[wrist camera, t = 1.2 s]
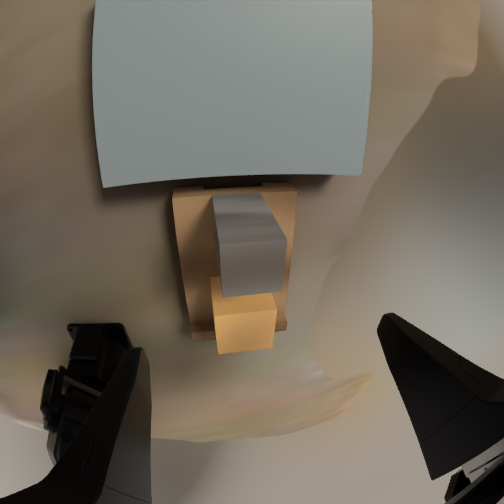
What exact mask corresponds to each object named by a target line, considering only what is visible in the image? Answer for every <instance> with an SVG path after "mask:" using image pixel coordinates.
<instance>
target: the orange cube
mask: <svg viewBox="0 0 504 504" xmlns="http://www.w3.org/2000/svg"><path fill="white" fill-rule="evenodd" d="M210 283H211V294H212V304H213V314H214V323H215V332H216V341H217V349H218V354H227V353H237V352H245V351H253V350H261V349H268V348H273V341H274V333H275V324H276V315H277V308H276V305H275V302H274V299H273V296H272V293H264V294H255V295H245V296H235V297H224V298H222V291H221V284H220V277H219V276H218V277H210Z"/></svg>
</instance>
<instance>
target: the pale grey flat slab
mask: <svg viewBox="0 0 504 504" xmlns="http://www.w3.org/2000/svg"><path fill="white" fill-rule="evenodd" d="M371 75H372V0H96V4H95V14H94V26H93V45H92V88H93V108H94V122H95V133H96V142H97V150H98V158H99V165H100V172H101V178H102V184H103V188H107V187H114V186H121V185H129V184H137V183H146V182H155V181H165V180H176V179H187V178H201V177H216V176H235V175H264V174H330V175H358V176H361V173H362V167H363V159H364V152H365V144H366V136H367V126H368V116H369V105H370V92H371Z"/></svg>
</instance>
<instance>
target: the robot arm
mask: <svg viewBox="0 0 504 504" xmlns="http://www.w3.org/2000/svg"><path fill="white" fill-rule="evenodd" d="M67 330H68V332H69V334H70V336H71V337H72V339H73V341H74V342H73V345H72V349H71V352H70V355H69V358H70V360H69V364H68V367H67V370H66V369H65V367H63V366H61V365H60V366H59V368H58V369H57V370H51V369H49V370H48V372H47V375H46V379H45V382H44V386H43V391H42V397H41V404H40V410H41V412H42V414H43V420H44V429H45V430H47V431H49V434H48V440H47V450H48V453H49V455H50V458H51V460H52V463H53V465H54V467H53V468H52V470H51V471H50V473H49V474H48V475H47V476H46V477H45V478H44V479H43V480H42V481H40V482H39V483H37V484H35V485H32V486H30V487H28V488H26V489H23V490H21V491H19V492H16V493H14V494H11V495H9V496H6V497H3V498H0V504H151V503H152V498H151V466H150V442H151V407H152V404H151V388H150V367H149V362H148V359H147V357H146V354H145V352H144V350H143V348H141V347H135V348H133V346H132V344H131V342H130V339H129V337H128V335H127V332H126V330H125V328H124V326H123V325H122V324H120V323H103V324H68V326H67ZM377 334H378V337H379V340H380V343H381V346H382V349H383V352H384V355H385V358H386V361H387V364H388V366H389V369H390V371H391V373H392V375H393V378H394V380H395V382H396V385H397V387H398V390H399V392H400V394H401V397H402V399H403V401H404V404H405V407H406V409H407V412H408V414H409V417H410V420H411V422H412V425H413V428H414V430H415V433H416V436H417V438H418V441H419V443H420V447H421V450H422V453H423V456H424V459H425V462H426V465H427V468H428V471H429V474H430V477H431V480H435V479H437V478H439V477H441V476H443V475H445V474H447V473H449V472H450V471H452V470H454V469H456V468H458V467H460V466H461V467H462V469H460V470H459V471H458V472H456V473H455V474H454V475H452V476H451V480H450V483H449V486H448V489H447V492H446V494H445V501H446V503H445V504H504V379H502V378H499V377H498V376H496V375H494V374H492V373H490V372H488V371H486V370H484V369H482V368H481V367H479V366H477V365H475V364H474V363H472V362H470V361H469V360H467V359H465V358H464V357H462V356H461V355H458V353H456V352H455V351H453V350H452V349H450V348H448V347H447V346H445V345H444V344H442V343H441V342H439V341H438V340H436V339H434V338H433V337H431V336H430V335H428V334H426V333H425V332H423V331H422V330H420V329H419V328H417V327H415V326H414V325H412V324H411V323H409V322H407V321H406V320H404V319H403V318H401V317H399V316H398V315H396V314H395V313H387V314H384V315H383V316H382V318H381V321H380V323H379V325H378V328H377Z"/></svg>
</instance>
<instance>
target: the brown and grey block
mask: <svg viewBox="0 0 504 504" xmlns="http://www.w3.org/2000/svg"><path fill="white" fill-rule="evenodd" d="M297 195H298V191H297V190H296V189H295V188H294V187H293V186H292V185H291V184H290V183H289V182H261V186H256V187H234V188H216V189H204V185H200V186H187V187H175V188H174V192H173V196H172V202H173V212H174V220H175V228H176V236H177V244H178V251H179V258H180V265H181V271H182V278H183V284H184V290H185V296H186V302H187V307H188V313H189V318H190V323H191V336H192V341H194V340H206V339H216V332H215V323H214V314H213V304H212V294H211V283H210V277H218V276H219V277H220V284H221V291H222V298H224V297H235V296H245V295H255V294H264V293H272V296H273V299H274V302H275V305H276V308H277V315H276V324H275V332H277V331H284V330H286V327H287V320H286V318H285V315H284V312H285V304H286V296H287V289H288V280H289V272H290V263H291V255H292V246H293V236H294V226H295V216H296V206H297Z"/></svg>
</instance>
